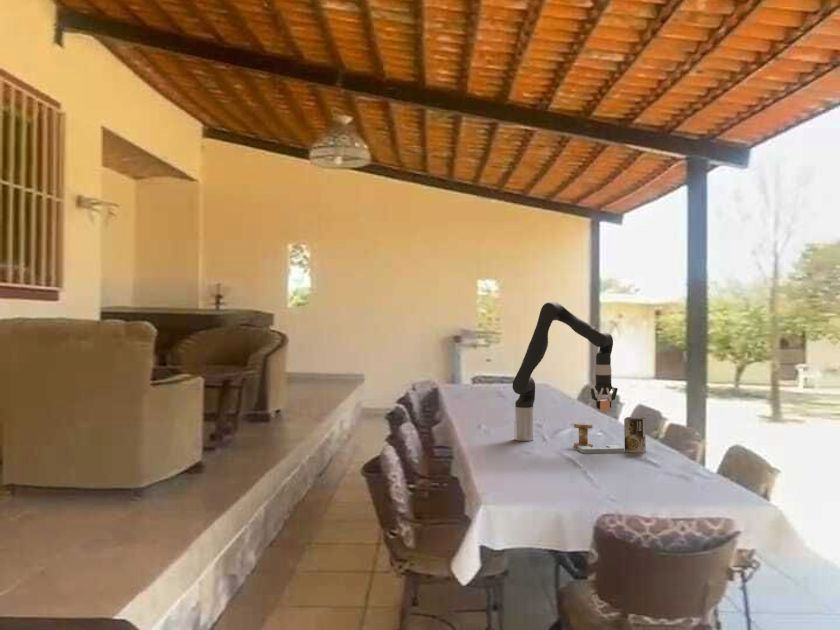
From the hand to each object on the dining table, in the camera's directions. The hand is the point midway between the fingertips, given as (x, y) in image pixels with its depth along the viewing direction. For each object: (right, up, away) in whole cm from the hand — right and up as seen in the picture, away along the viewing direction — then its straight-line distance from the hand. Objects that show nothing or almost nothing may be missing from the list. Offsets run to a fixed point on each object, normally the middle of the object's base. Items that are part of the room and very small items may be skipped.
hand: (603, 408), depth 425 cm
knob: (-9, -20, +7) cm, 23 cm away
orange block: (0, -1, 0) cm, 1 cm away
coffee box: (+13, -20, -9) cm, 25 cm away
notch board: (-3, -20, -7) cm, 21 cm away
